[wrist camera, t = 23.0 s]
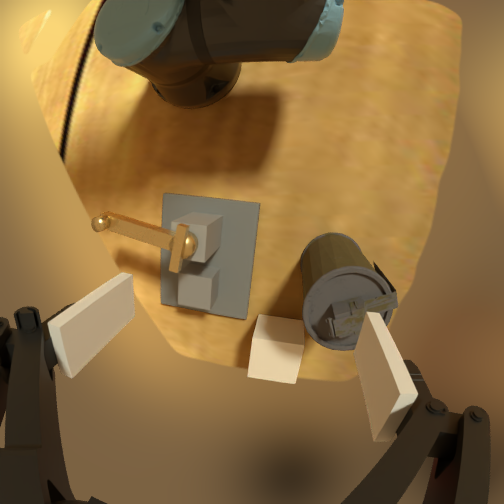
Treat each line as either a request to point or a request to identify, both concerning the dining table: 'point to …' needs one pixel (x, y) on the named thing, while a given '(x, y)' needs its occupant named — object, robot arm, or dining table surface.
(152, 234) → the latch bar
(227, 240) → the latch base
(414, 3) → the dining table surface
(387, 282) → the canister
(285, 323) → the cover
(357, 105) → the dining table surface
